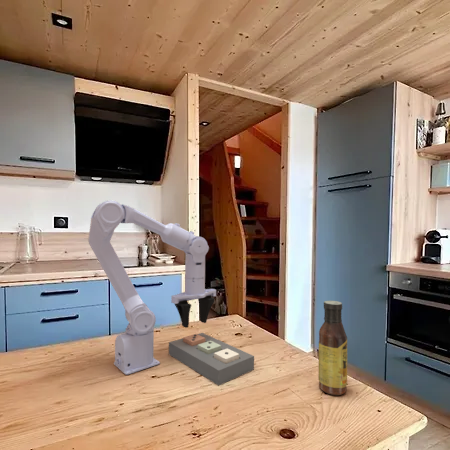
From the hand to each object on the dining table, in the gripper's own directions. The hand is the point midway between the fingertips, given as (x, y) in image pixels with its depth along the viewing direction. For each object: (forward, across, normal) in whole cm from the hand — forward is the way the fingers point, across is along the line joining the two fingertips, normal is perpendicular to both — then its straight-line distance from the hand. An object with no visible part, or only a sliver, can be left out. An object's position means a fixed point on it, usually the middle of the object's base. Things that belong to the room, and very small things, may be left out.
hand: (194, 324), depth 88 cm
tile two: (+6, 0, -7) cm, 9 cm away
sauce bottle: (+9, +13, -36) cm, 39 cm away
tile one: (+6, 0, -14) cm, 15 cm away
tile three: (+6, 0, 0) cm, 6 cm away
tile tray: (+8, 0, -7) cm, 11 cm away
